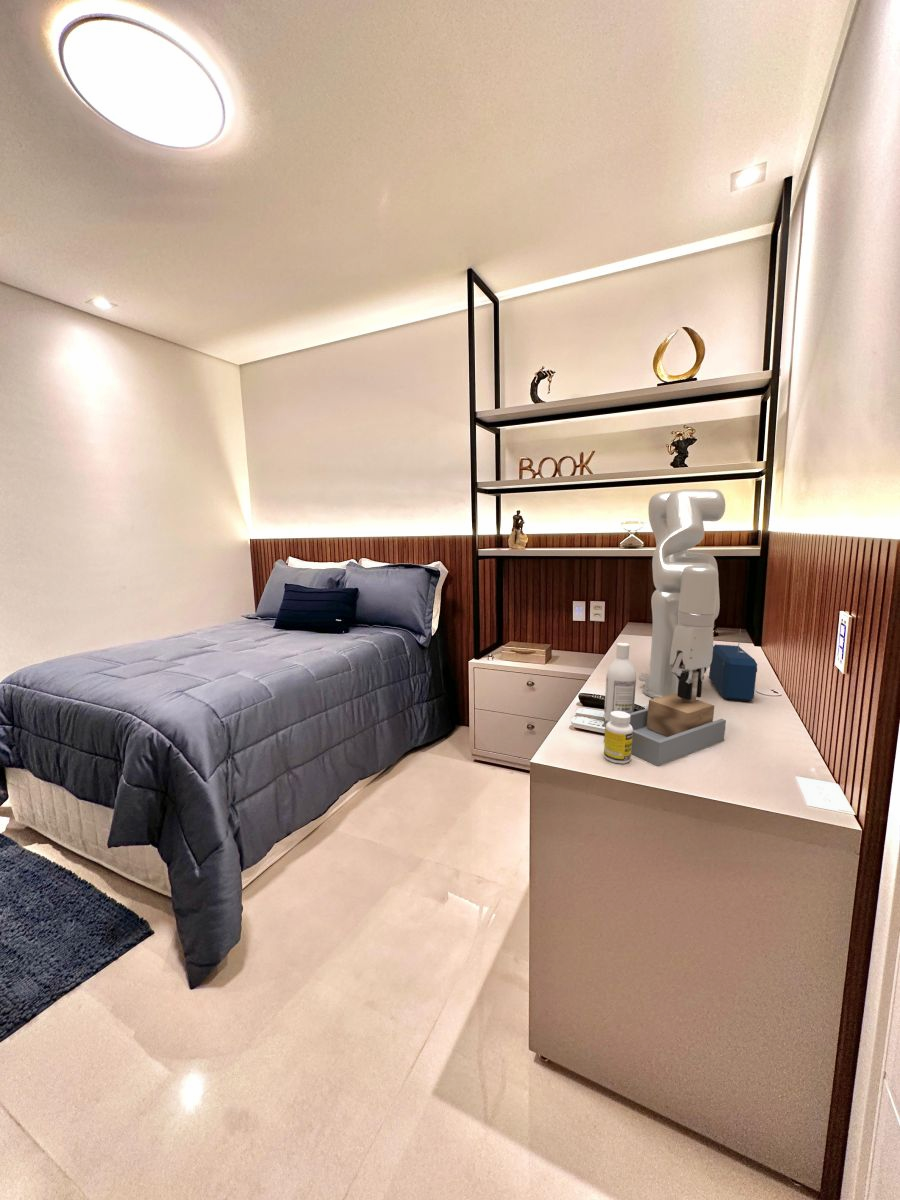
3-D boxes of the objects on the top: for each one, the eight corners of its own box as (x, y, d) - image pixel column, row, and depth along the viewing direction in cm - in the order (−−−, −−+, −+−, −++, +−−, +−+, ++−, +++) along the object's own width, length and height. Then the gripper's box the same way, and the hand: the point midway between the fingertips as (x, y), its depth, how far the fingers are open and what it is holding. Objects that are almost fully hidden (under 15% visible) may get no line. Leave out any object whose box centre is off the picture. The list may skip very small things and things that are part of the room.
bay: (604, 740, 115) (605, 720, 114) (669, 720, 127) (670, 701, 127) (658, 766, 103) (659, 743, 102) (723, 740, 116) (725, 720, 115)
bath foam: (639, 724, 124) (644, 645, 121) (618, 729, 121) (623, 648, 118) (618, 715, 131) (623, 639, 128) (597, 719, 128) (602, 642, 125)
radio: (757, 704, 140) (765, 634, 137) (723, 701, 142) (729, 631, 139) (737, 682, 160) (743, 620, 157) (707, 679, 162) (712, 618, 159)
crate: (646, 728, 119) (650, 670, 117) (672, 719, 125) (676, 665, 122) (685, 743, 111) (691, 682, 109) (711, 734, 116) (717, 675, 114)
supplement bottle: (627, 766, 102) (630, 721, 101) (600, 760, 105) (603, 715, 104) (633, 756, 107) (636, 712, 106) (607, 750, 110) (610, 707, 108)
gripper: (701, 614, 123) (695, 686, 126) (658, 620, 114) (652, 698, 117) (732, 619, 116) (724, 695, 119) (689, 626, 108) (682, 708, 111)
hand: (689, 696), depth 118 cm, fingers closed on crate, 3 cm apart
